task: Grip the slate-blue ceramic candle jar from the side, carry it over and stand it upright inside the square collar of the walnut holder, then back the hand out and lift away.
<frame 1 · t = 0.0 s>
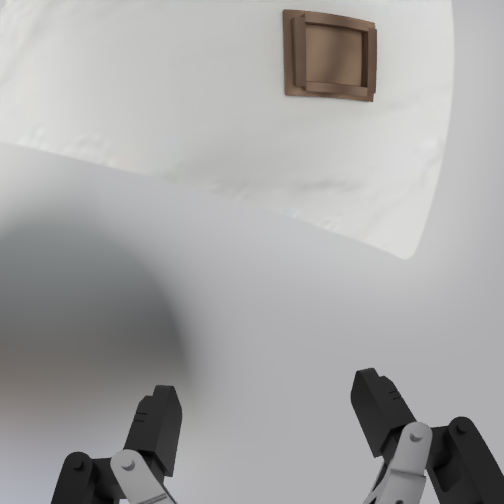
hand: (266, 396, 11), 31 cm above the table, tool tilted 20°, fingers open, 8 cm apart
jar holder: (330, 54, 26), on the table
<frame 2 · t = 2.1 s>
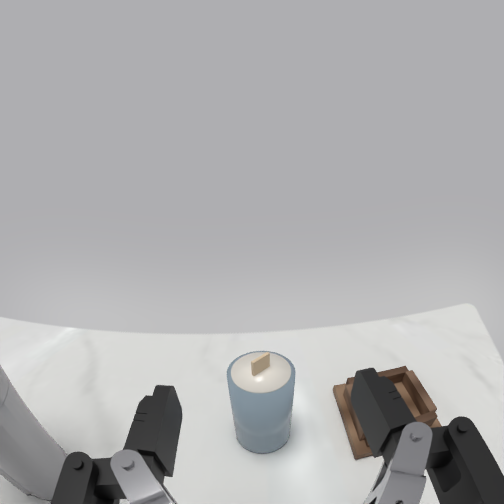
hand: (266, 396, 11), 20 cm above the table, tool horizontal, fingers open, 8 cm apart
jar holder: (385, 412, 27), on the table
candle jar: (262, 432, 27), on the table
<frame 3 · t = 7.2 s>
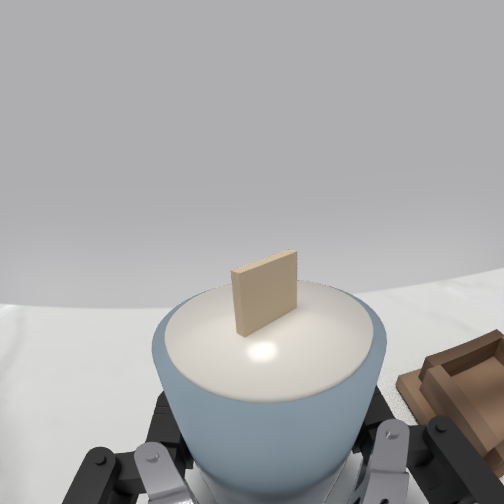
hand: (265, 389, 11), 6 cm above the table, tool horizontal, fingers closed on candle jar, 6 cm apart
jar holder: (486, 408, 11), on the table
candle jar: (271, 482, 11), on the table, touching gripper
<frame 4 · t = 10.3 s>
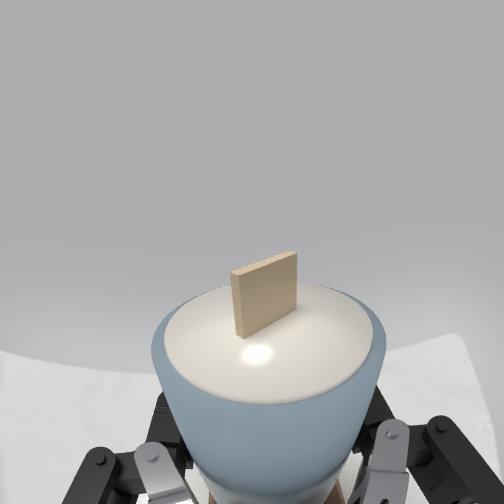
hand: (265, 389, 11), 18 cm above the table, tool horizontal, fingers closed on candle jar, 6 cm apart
candle jar: (271, 483, 11), point 12 cm above the table, touching gripper
when the fingers open (8 cm above the table, at t = 13.7 s): candle jar drops 1 cm, resting on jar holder.
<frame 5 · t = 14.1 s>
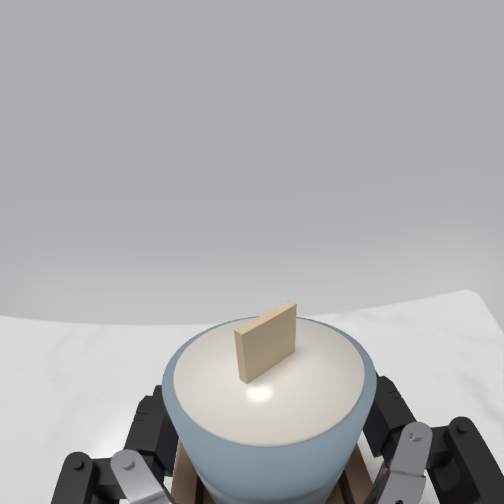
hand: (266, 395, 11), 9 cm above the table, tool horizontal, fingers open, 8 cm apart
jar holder: (271, 495, 11), on the table
candle jar: (271, 492, 11), point 1 cm above the table, touching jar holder
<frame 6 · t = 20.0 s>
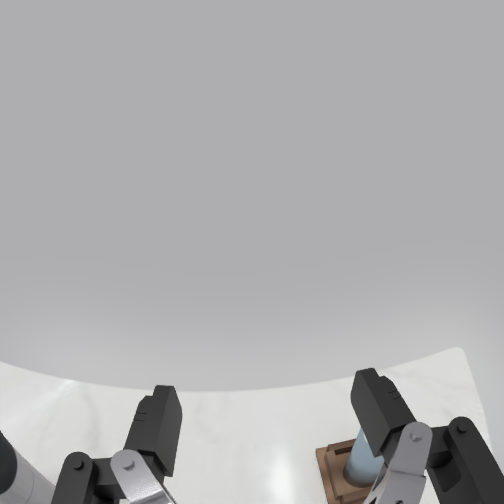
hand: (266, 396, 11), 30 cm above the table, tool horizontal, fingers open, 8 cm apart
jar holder: (362, 472, 26), on the table
candle jar: (364, 470, 26), point 1 cm above the table, touching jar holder
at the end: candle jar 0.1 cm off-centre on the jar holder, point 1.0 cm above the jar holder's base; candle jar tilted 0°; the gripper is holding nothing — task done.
